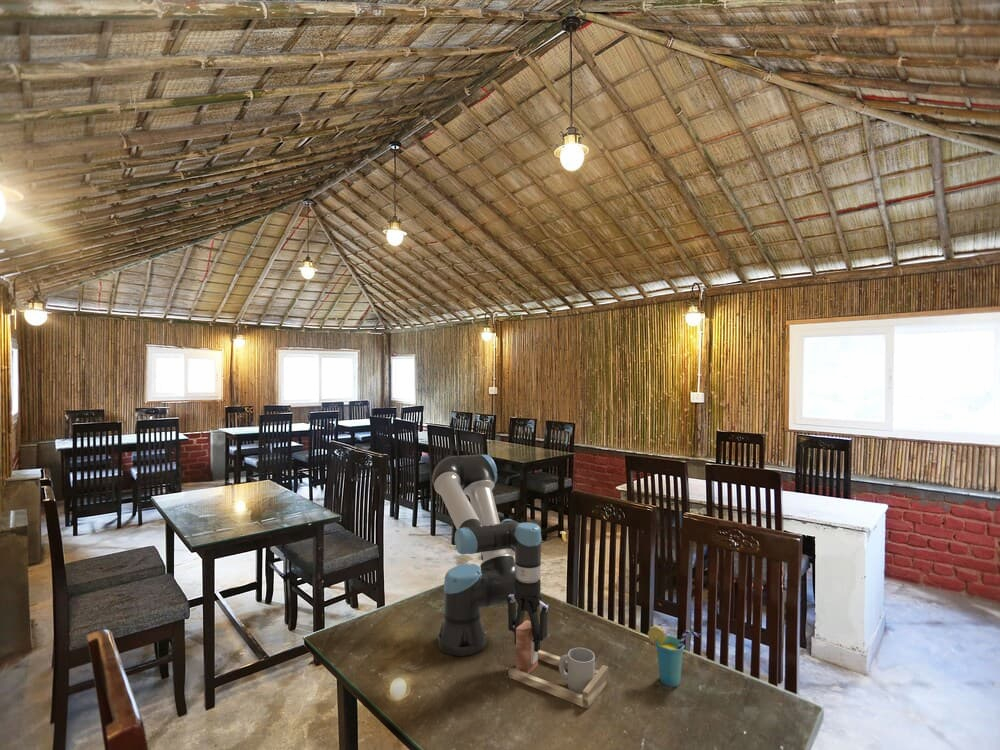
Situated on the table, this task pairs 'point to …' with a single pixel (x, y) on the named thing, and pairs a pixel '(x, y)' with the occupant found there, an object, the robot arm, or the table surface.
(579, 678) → the cup
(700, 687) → the table surface
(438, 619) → the table surface
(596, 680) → the frame
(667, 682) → the cup
